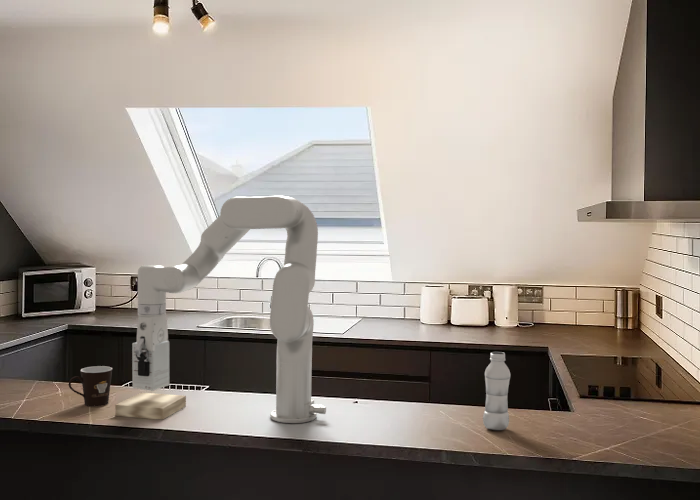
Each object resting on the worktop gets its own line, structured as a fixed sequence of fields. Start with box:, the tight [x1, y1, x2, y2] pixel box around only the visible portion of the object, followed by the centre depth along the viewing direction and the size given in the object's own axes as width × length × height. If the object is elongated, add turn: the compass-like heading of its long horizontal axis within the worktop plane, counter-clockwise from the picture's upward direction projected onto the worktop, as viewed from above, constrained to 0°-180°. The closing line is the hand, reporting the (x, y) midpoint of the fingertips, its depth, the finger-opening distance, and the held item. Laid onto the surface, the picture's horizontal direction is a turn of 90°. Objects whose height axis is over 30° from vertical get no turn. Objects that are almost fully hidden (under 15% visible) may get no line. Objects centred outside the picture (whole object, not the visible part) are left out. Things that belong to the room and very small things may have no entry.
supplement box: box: [131, 340, 170, 391], centre depth 197 cm, size 7×7×13 cm
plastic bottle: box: [482, 351, 511, 431], centre depth 184 cm, size 6×7×20 cm
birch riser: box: [114, 392, 187, 421], centre depth 197 cm, size 14×14×3 cm
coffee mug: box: [68, 365, 113, 408], centre depth 203 cm, size 12×9×10 cm
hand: (151, 372), depth 197 cm, fingers closed on supplement box, 8 cm apart
